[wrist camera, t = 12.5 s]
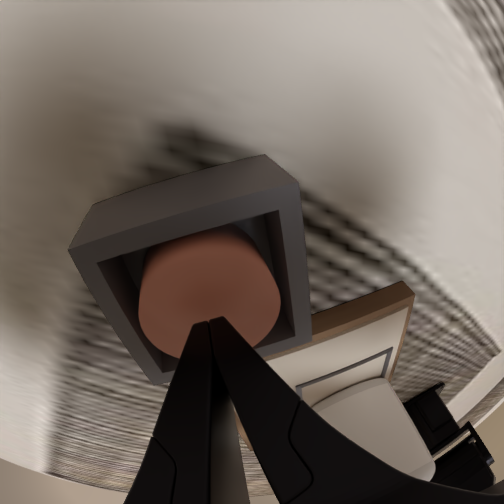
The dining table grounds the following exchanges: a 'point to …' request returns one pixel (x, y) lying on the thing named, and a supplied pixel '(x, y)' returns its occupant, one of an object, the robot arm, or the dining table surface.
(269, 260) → the button housing
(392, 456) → the eye dropper bottle
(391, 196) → the dining table surface
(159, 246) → the button
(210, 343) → the robot arm
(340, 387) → the board
